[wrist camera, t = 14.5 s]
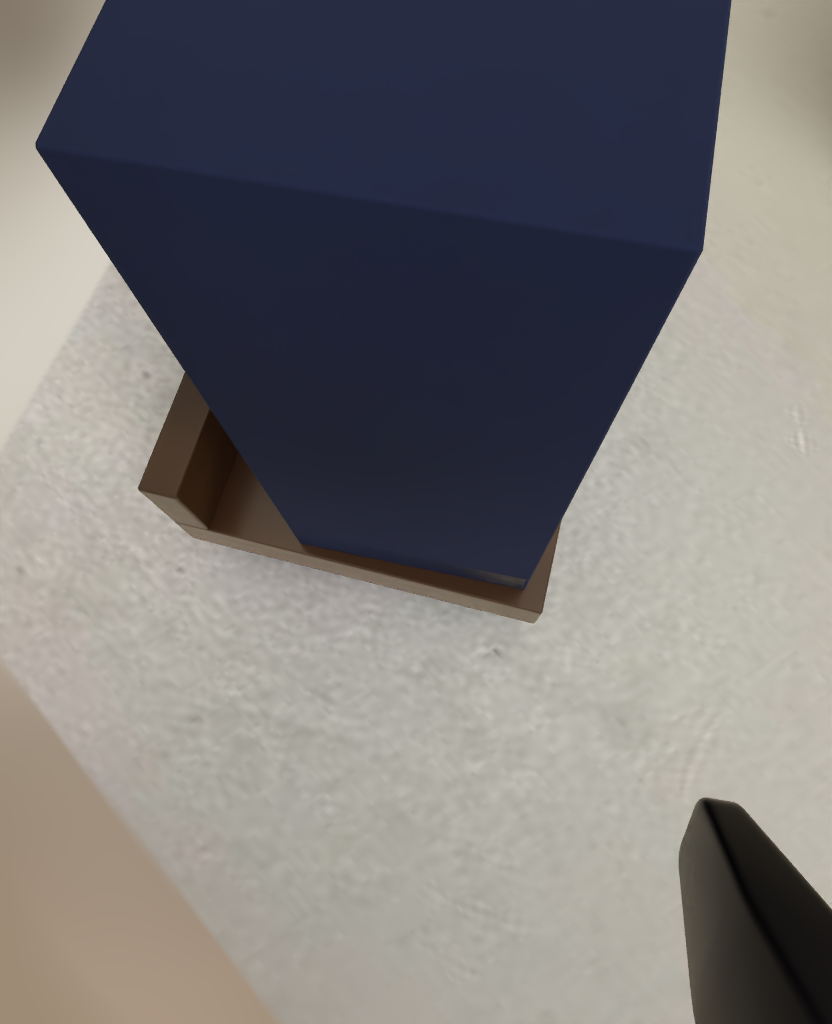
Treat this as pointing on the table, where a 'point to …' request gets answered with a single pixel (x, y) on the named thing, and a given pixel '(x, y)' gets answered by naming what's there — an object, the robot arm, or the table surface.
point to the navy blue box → (402, 240)
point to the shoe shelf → (262, 530)
